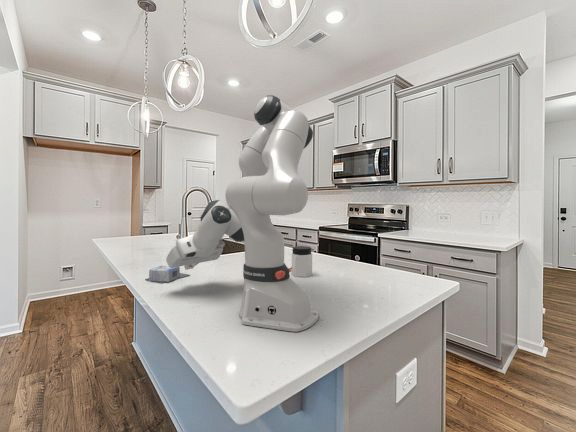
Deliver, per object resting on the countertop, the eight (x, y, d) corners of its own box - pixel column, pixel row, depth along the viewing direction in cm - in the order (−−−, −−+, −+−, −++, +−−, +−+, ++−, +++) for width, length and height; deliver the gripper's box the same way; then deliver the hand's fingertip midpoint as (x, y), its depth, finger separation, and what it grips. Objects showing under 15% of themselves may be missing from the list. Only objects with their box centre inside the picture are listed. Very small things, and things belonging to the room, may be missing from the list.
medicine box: (168, 270, 114) (148, 269, 116) (168, 282, 115) (148, 280, 116) (180, 266, 122) (161, 265, 124) (180, 277, 122) (161, 275, 124)
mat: (190, 275, 126) (190, 274, 126) (162, 283, 114) (162, 282, 114) (173, 272, 131) (173, 271, 131) (145, 280, 119) (145, 279, 119)
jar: (300, 271, 135) (300, 245, 134) (315, 274, 130) (315, 247, 129) (287, 275, 128) (288, 247, 127) (303, 278, 123) (303, 249, 122)
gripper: (223, 234, 113) (208, 257, 120) (172, 240, 98) (159, 265, 105) (230, 247, 111) (215, 269, 118) (179, 255, 95) (165, 280, 102)
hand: (188, 267), depth 111 cm, fingers closed
